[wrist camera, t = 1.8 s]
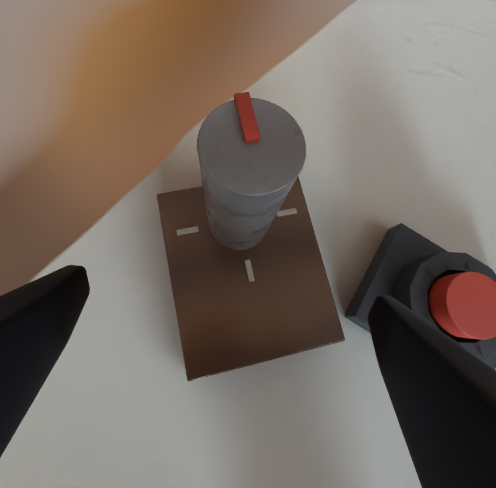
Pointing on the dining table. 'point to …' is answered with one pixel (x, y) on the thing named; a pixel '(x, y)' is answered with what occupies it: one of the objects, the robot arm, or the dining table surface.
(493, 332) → the button
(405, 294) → the button box
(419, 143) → the dining table surface
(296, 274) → the base
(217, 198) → the grey cylinder with pointer
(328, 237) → the dining table surface
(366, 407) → the dining table surface
